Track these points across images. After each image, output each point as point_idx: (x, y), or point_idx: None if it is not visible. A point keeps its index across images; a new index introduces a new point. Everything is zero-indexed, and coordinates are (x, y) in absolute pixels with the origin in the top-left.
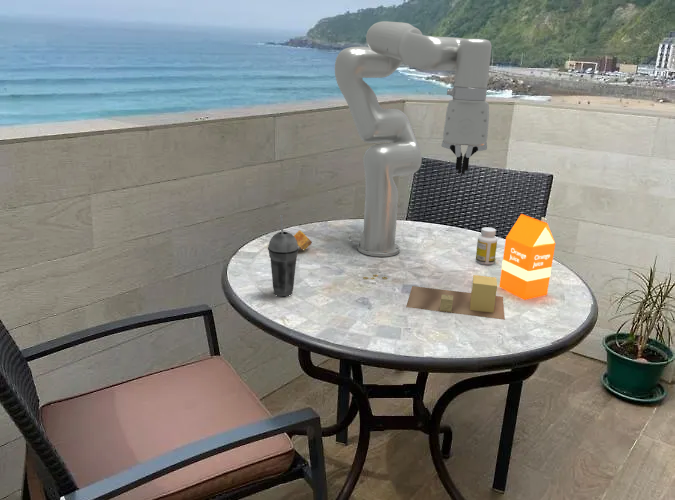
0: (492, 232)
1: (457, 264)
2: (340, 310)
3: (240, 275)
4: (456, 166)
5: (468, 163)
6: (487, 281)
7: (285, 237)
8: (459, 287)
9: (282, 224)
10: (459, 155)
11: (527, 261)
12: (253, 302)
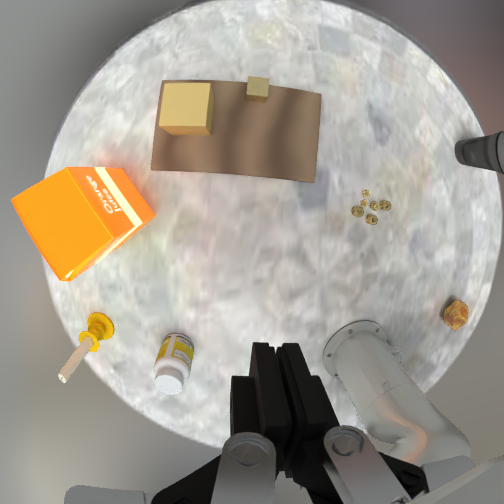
0: (160, 374)
1: (225, 325)
2: (402, 99)
3: (494, 205)
4: (317, 384)
5: (234, 405)
6: (180, 99)
7: None
8: (224, 215)
9: None
10: (329, 443)
11: (88, 172)
12: (475, 127)
